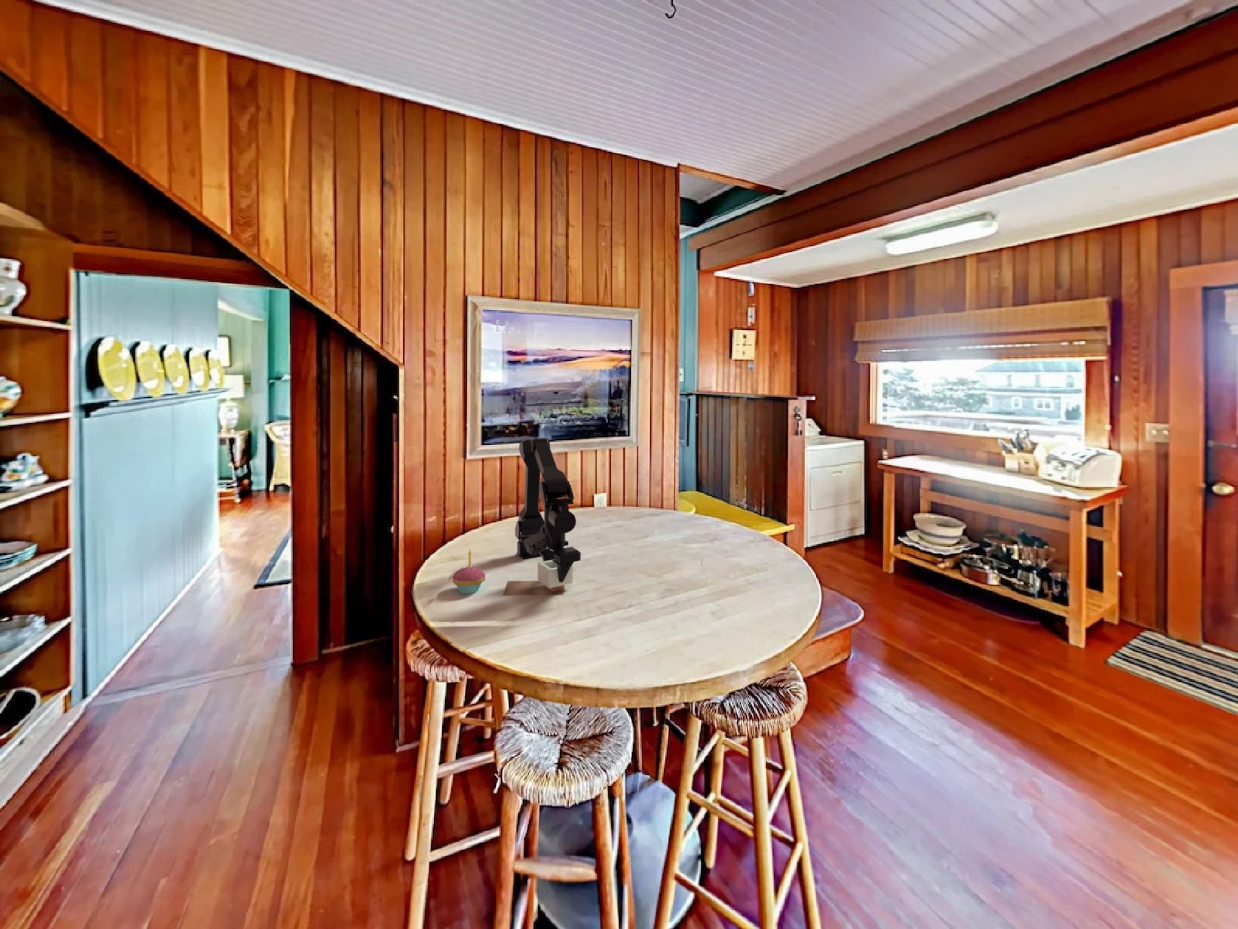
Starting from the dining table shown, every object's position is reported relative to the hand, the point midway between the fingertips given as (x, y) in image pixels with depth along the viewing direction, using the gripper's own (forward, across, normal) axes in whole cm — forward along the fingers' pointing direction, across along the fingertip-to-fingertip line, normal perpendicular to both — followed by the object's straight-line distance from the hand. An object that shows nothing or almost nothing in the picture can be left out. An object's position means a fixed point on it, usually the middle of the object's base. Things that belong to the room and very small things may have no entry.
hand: (554, 577), depth 154 cm
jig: (+4, -3, -5) cm, 7 cm away
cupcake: (+4, -10, -20) cm, 23 cm away
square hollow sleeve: (+1, 0, 0) cm, 1 cm away
